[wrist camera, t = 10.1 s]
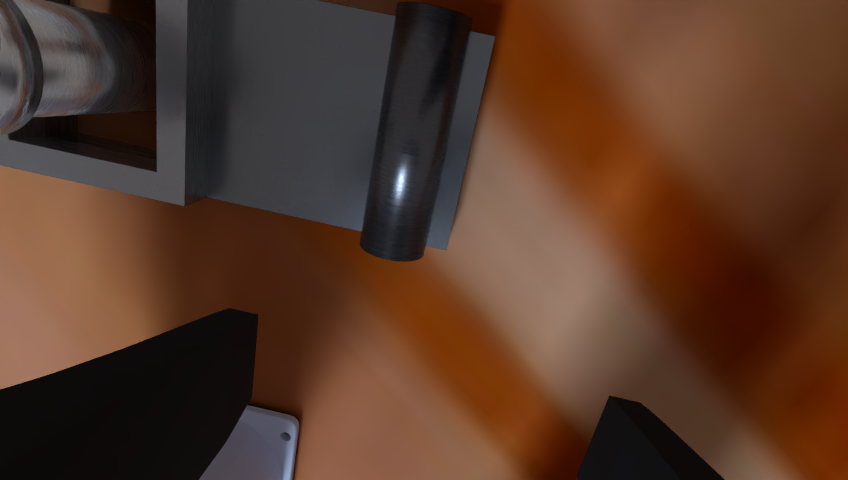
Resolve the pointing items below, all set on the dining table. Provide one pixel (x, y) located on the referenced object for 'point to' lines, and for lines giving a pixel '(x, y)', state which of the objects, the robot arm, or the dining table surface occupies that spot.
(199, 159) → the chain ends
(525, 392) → the dining table surface
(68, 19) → the steel pin
